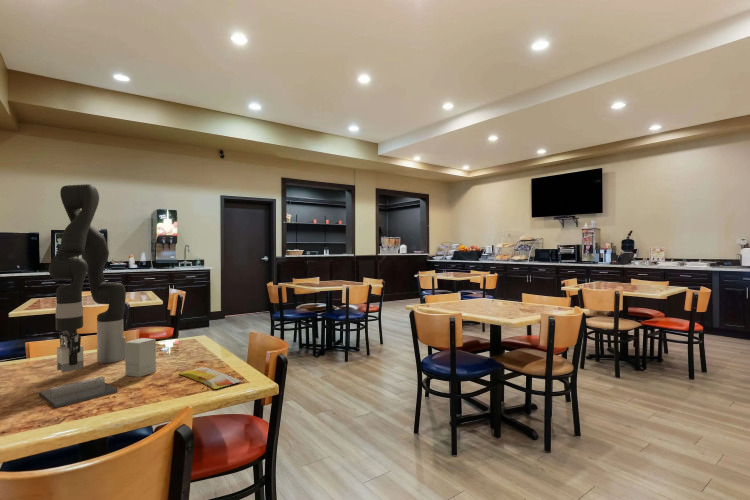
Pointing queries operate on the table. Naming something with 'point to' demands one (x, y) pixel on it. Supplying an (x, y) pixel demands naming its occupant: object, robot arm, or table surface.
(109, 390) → the rail board
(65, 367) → the block
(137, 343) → the supplement box
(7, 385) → the table surface
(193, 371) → the food package
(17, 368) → the table surface
